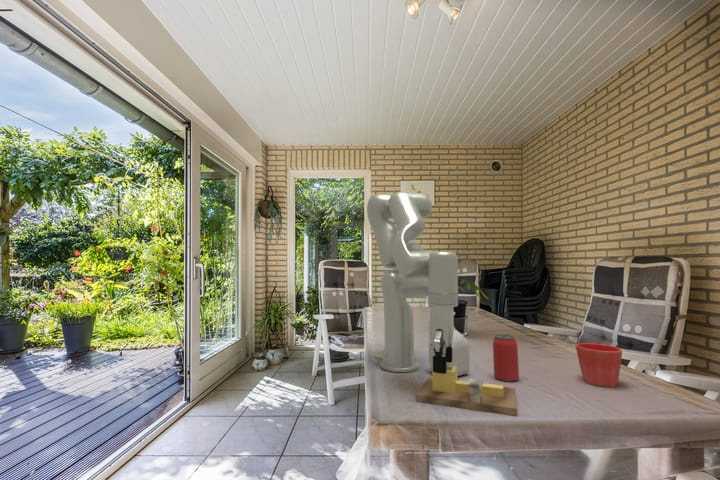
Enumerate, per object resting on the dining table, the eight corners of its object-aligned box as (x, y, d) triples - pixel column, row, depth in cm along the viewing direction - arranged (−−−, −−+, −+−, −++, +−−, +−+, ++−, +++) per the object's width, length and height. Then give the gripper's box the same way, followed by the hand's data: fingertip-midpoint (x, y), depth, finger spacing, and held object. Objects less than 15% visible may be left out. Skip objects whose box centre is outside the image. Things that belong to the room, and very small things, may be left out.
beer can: (514, 375, 101) (512, 334, 102) (522, 382, 95) (520, 338, 96) (491, 375, 102) (489, 334, 103) (498, 382, 95) (496, 338, 97)
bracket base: (415, 401, 81) (415, 371, 82) (428, 383, 94) (427, 357, 95) (517, 416, 73) (515, 382, 74) (515, 394, 86) (514, 365, 86)
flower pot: (618, 379, 97) (615, 344, 98) (629, 391, 87) (626, 352, 88) (575, 374, 102) (572, 341, 103) (581, 386, 92) (578, 349, 93)
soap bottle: (426, 372, 105) (424, 297, 107) (448, 367, 110) (446, 296, 112) (450, 380, 97) (447, 299, 99) (472, 374, 102) (470, 298, 104)
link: (432, 390, 84) (432, 369, 85) (436, 384, 89) (436, 364, 90) (503, 399, 78) (502, 377, 79) (503, 392, 83) (502, 371, 84)
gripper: (434, 295, 97) (434, 356, 97) (420, 302, 82) (420, 375, 81) (461, 296, 95) (462, 359, 94) (453, 304, 79) (453, 380, 78)
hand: (442, 366), depth 87 cm, fingers open, 9 cm apart
